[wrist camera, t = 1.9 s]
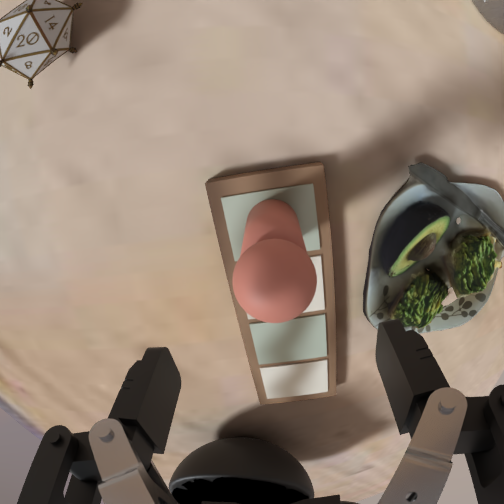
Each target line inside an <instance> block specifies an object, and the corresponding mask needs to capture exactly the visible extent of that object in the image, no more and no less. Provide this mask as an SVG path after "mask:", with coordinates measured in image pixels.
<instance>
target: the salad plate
mask: <svg viewBox="0 0 504 504" xmlns="http://www.w3.org/2000/svg"><path fill="white" fill-rule="evenodd" d="M409 174H410V178H409V180H408V181H407V183H406V184H405V185H404V186H403V187H402V188H401V189H400V190H399V191H398V192H397V193H396V194H395V195H394V196H393V197H392V199H391V200H390V201H389V202H388V203H387V204H386V206H385V207H384V209H383V210H382V211H381V214H380V216H379V218H378V221H377V223H376V226H375V230H374V234H373V238H372V242H371V246H370V249H369V260H368V267H367V273H366V279H365V285H364V292H363V312H364V315H365V316H366V318H367V319H368V321H369V322H370V323H371V324H372V325H373V327H375V328H376V329H378V325H379V323H380V322H385V321H390V320H395V319H399V320H400V321H401V323H402V325H403V327H404V329H405V330H406V331H408V330H412V329H413V330H414V331H416V332H417V333H418V334H419V333H424V332H431V331H438V330H440V331H442V330H444V329H450V328H454V327H458V326H461V325H463V324H465V323H466V322H468V321H469V320H471V319H472V318H473V317H474V316H475V315H476V314H477V313H478V312H479V311H480V310H481V309H482V308H483V306H484V305H485V304H486V302H487V301H488V299H489V296H490V294H491V291H492V288H493V285H494V281H495V278H496V274H497V271H498V268H501V267H502V262H500V260H501V259H502V257H504V202H503V200H502V198H501V196H500V194H499V193H498V192H497V191H496V190H495V189H493V188H490V187H488V186H485V185H481V184H475V183H455V182H454V183H453V182H449V181H448V180H447V177H446V176H445V175H443V174H442V173H440V172H439V171H437V170H436V169H434V168H432V167H430V166H428V165H426V164H424V163H418V164H415V165H411V166H409ZM458 217H459V218H460V219H461V223H460V224H459V225H458V224H457V223H456V219H457V218H458ZM427 268H428V269H429V271H427V270H426V269H427ZM450 287H453V289H454V292H455V294H456V297H457V298H458V299H456V300H455V301H454V302H452V303H451V304H449V305H447V306H444V307H443V305H442V304H441V302H442V301H443V300H444V299H445V297H446V296H447V295H448V289H449V288H450Z"/></svg>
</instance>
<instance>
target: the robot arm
mask: <svg viewBox="0 0 504 504" xmlns="http://www.w3.org/2000/svg"><path fill="white" fill-rule="evenodd" d="M473 2H474V4H475V5H476V7H477V8H478V10H479V11H480V13H481V14H482V15H483V16H484V17H485V19H486V20H487V21H488V22H489V23H490V24H491V25H492V26H493V27H494V28H496V29H497V30H498V31H499V32H501V33H503V34H504V0H473ZM376 363H377V367H378V370H379V373H380V376H381V378H382V381H383V384H384V387H385V390H386V393H387V396H388V399H389V402H390V405H391V408H392V411H393V414H394V417H395V420H396V423H397V426H398V430H399V433H400V435H401V434H405V433H408V432H409V433H410V436H411V442H410V444H409V446H408V448H407V450H406V452H405V454H404V456H403V458H402V460H401V462H400V464H399V466H398V468H397V470H396V472H395V474H394V476H393V478H392V480H391V481H390V483H389V485H388V487H387V488H386V490H385V492H384V494H383V495H382V497H381V499H380V500H379V502H378V504H437V502H438V500H439V497H440V495H441V493H442V491H443V488H444V486H445V483H446V481H447V479H448V476H449V473H450V471H451V468H452V462H451V459H452V456H453V454H465V457H466V460H467V463H468V467H469V470H470V474H471V477H472V481H473V484H474V489H475V493H476V496H477V501H478V504H504V385H499V386H497V387H495V388H494V389H493V390H492V392H491V393H490V395H489V396H483V397H465V396H464V395H463V394H462V393H461V392H460V391H459V390H457V389H454V388H450V386H449V384H448V382H447V380H446V379H445V377H444V375H443V373H442V371H441V369H440V367H439V365H438V363H437V362H436V360H435V358H434V357H433V354H432V352H431V351H430V349H428V345H427V344H426V342H425V340H424V338H423V337H422V336H421V335H420V334H418V333H417V332H416V331H414V330H413V329H412V330H408V331H406V330H405V329H404V327H403V325H402V323H401V321H400V320H399V319H395V320H390V321H385V322H380V323H379V325H378V334H377V344H376ZM180 389H181V377H180V373H179V371H178V369H177V367H176V365H175V362H174V360H173V358H172V356H171V354H170V351H169V349H168V348H167V347H155V348H147V350H146V352H145V354H144V356H143V358H142V360H138V361H137V362H136V363H135V364H134V365H133V366H132V367H131V368H130V369H129V371H128V373H127V375H126V377H125V381H124V382H123V384H122V386H121V389H120V391H119V393H118V396H117V398H116V400H115V403H114V405H113V407H112V410H111V412H110V414H109V417H108V419H103V420H100V421H98V422H97V423H96V424H94V425H93V427H92V428H91V430H90V431H88V432H81V433H74V434H72V433H71V432H70V430H69V429H68V428H66V427H65V426H62V425H58V426H54V427H52V428H50V429H49V430H48V431H47V432H46V433H45V435H44V436H43V439H42V441H41V444H40V446H39V448H38V450H37V453H36V455H35V457H34V460H33V462H32V465H31V467H30V470H29V473H28V475H27V478H26V481H25V483H24V485H23V488H22V491H21V494H20V497H19V499H18V502H17V504H100V503H101V499H103V502H104V504H179V503H178V502H177V501H176V500H175V499H174V497H173V496H172V494H171V493H170V491H169V489H168V488H167V486H166V484H165V482H164V481H163V479H162V477H161V476H160V474H159V472H158V470H157V468H156V467H155V465H154V463H153V461H152V460H151V459H152V455H153V453H157V454H164V451H165V447H166V443H167V439H168V435H169V431H170V427H171V423H172V419H173V415H174V412H175V408H176V404H177V400H178V396H179V393H180ZM69 472H71V473H72V476H71V479H70V482H69V486H68V489H67V492H66V495H65V498H64V495H63V491H64V487H65V484H66V481H67V478H68V474H69ZM201 504H239V503H235V502H210V501H202V503H201ZM291 504H358V503H354V502H348V501H340V495H333V496H327V497H320V498H312V499H304V500H301V501H298V502H295V503H291Z"/></svg>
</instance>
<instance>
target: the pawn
mask: <svg viewBox="0 0 504 504" xmlns="http://www.w3.org/2000/svg"><path fill="white" fill-rule="evenodd" d="M232 283H233V290H234V294H235V297H236V299H237V301H238V303H239V304H240V306H241V307H242V308H243V309H244V310H245V312H247V313H248V314H249V315H250V316H252V317H254V318H256V319H257V320H260V321H263V322H267V323H282V322H286V321H289V320H292V319H294V318H296V317H297V316H299V315H300V314H302V313H303V312H304V311H305V310H306V309H307V307H308V306H309V305H310V303H311V302H312V300H313V297H314V295H315V292H316V286H317V275H316V270H315V267H314V264H313V262H312V260H311V258H310V257H309V255H308V254H307V250H306V247H305V243H304V239H303V236H302V232H301V229H300V225H299V221H298V218H297V215H296V213H295V211H294V210H293V208H292V207H291V206H290V205H288V204H287V203H285V202H283V201H281V200H276V199H268V200H264V201H261V202H259V203H258V204H256V205H255V206H254V207H253V208H252V209H251V211H250V212H249V214H248V217H247V221H246V227H245V232H244V238H243V243H242V249H241V254H240V258H239V259H238V261H237V263H236V265H235V268H234V272H233V279H232Z"/></svg>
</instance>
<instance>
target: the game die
mask: <svg viewBox="0 0 504 504" xmlns="http://www.w3.org/2000/svg"><path fill="white" fill-rule="evenodd" d="M81 5H82V3H77V4H76V5H74V6H73V7H71V6H69V5H67V4H64V3H62V2H60V1H58V0H26V1H24V2H23V3H22V4H20V5H19V6H17V7H16V8H14V9H13V10H12V11H10V12H9V13H8V14H6V15H5V16H4V17H2V18H1V19H0V67H1V66H3V67H5V68H7V69H9V70H11V71H13V72H15V73H17V74H19V75H21V76H23V77H25V78H27V79H29V82H28V86H29V88H30V89H31V88H32V86H33V85H34V84H33V80H32V79H33V78H34V77H35V76H36V75H38V74H39V73H40V72H41V71H42V70H44V69H45V68H46V67H47V66H49V65H50V64H51V63H52V62H54V61H55V60H56V59H57V58H59V57H60V56H61V55H63V54H64V53H65V52H67V51H68V50H69V51H70V52H72V53H73V52H77V51H76V49H75V48H73V47H70V41H71V30H72V20H73V12H74V10H75V9H78V8H80V6H81Z"/></svg>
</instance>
